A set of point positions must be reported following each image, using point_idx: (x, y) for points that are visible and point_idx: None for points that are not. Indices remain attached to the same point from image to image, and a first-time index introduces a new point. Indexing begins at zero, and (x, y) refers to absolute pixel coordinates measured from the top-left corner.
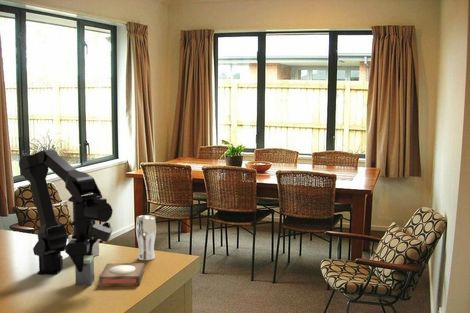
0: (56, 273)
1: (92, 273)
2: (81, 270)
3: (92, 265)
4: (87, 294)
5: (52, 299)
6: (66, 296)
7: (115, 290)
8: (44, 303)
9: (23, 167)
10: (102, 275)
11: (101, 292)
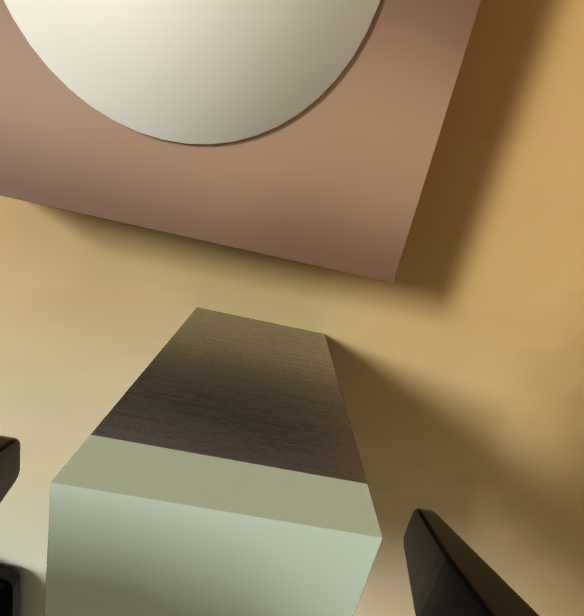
0: (18, 578)
1: (247, 354)
2: (446, 534)
3: (220, 400)
4: (515, 356)
5: (503, 557)
6: (489, 488)
7: (530, 109)
8: (547, 589)
9: None
10: (362, 243)
11: (522, 246)
